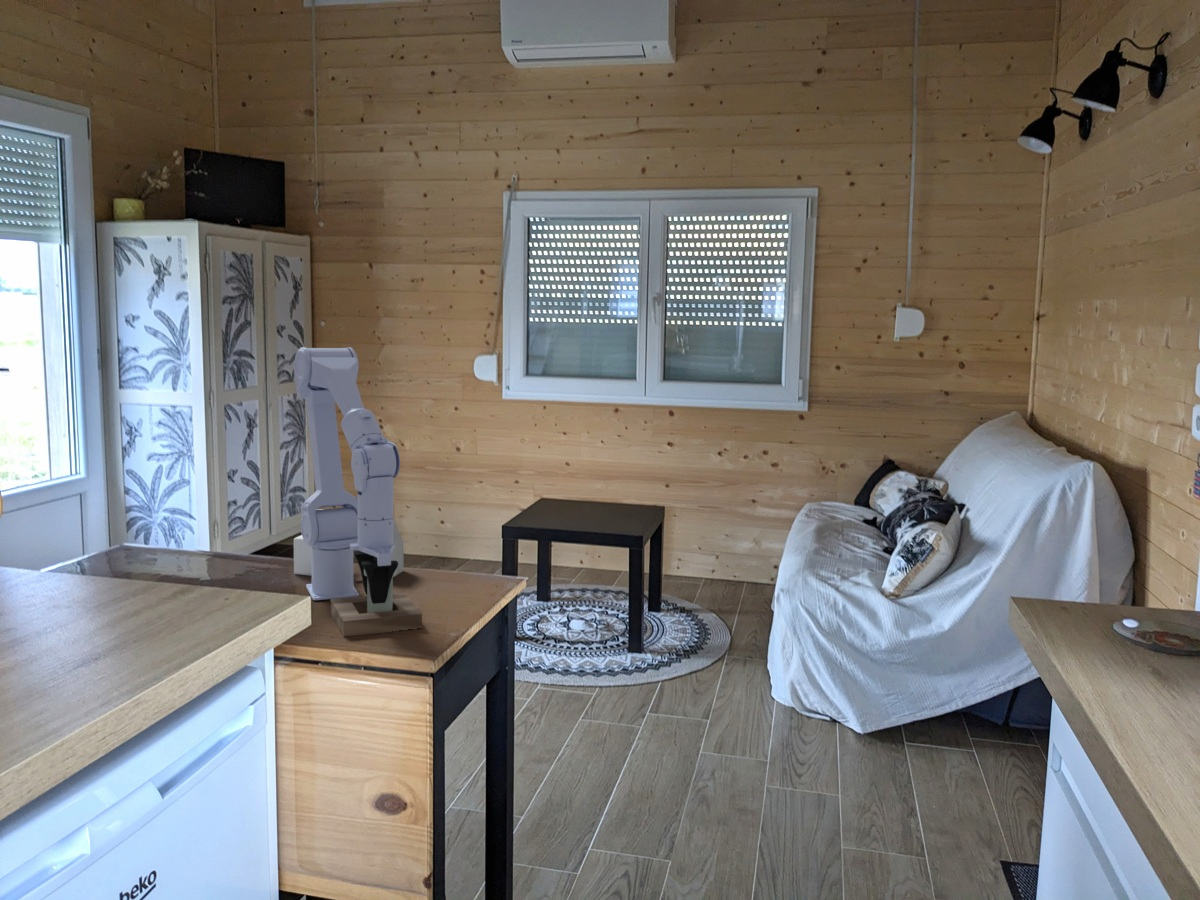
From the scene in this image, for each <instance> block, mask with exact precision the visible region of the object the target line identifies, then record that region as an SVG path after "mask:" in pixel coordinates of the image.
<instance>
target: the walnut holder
mask: <svg viewBox="0 0 1200 900" xmlns="http://www.w3.org/2000/svg"><path fill="white" fill-rule="evenodd" d="M330 615H331V617H332V619H333V621H334V622H335V624H336V626H337V627H338V629H339V631H340V633H341V635H342V637H351V636H352V637H354V636H361V635H363V636H364V635H372V634H382V633H392V631H393V632H400V631H399V630H403V631H409V630H408V629H413V630H418V629H417V628H422V629H423V612H421V611H420V609H419V608H418V607H417V606H416V605H415V603H414V602H413V601H412V600H411V599H410V598H409V596H408V595H407V594H406V593H405V592H400V593H399V592H397V593H393V611H385V612H374V613H367V595H365V596H358V597H348V598H337V599H330Z"/></svg>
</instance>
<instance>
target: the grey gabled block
mask: <svg viewBox="0 0 1200 900" xmlns="http://www.w3.org/2000/svg"><path fill="white" fill-rule="evenodd" d="M393 542H394V549H393V551H392V553H391V561H397V562H398V567H397V569H396V575H394V576H393V578H394V577H396V576H398V575H399V574H401V573H403V572H404V540H403V538H402V535H401V533H400V531H399V529H398V526H397V521H396V520H393ZM401 568H403V569H401Z"/></svg>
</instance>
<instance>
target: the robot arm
mask: <svg viewBox="0 0 1200 900" xmlns="http://www.w3.org/2000/svg"><path fill="white" fill-rule="evenodd" d="M359 367H360V366H359V359H358V355H357V352H356V351H355V350H354V348H353V347H350V346H348V347H344V348H343V347H340V348H339V347H337V348H336V347H316V348H315V347H310V348H309V347H306V346H302V347H300V348H298V350H297V352H296V353H295V356H294V362H293V374H294V375H293V376H294V383H295V390H296V394H297V396H299V397H300V398H301V399H304V400H305V405H306V411H307V419H308V428H309V439H310V449H311V459H312V466H313V467H312V469H313V478H314V487H315V491H314V492H313V494H312V495H310V496H309V497H308V498H307V499H306V500H305V501H304V502H303V503H302V505H301V508H300V509H301V520H300V532H301V535H302V537H303V539H304V541H305V542H306V543H307V544H308V545H309V546H311V547H312V554H311V571H312V576H311V583H306V584H305V587H306V590H307V591H308V593H309V595H310V598H311V599H312V600H313V601H322V600H323V601H324V600H331V599H339V598H350V597H360V593H359V592H358V590H357V589H356V587H355V585H354V557H355V560H356V562H357V564H358V567H359V570H360V573H361V574H360V576H361V579H362V583H363V589H364V592H365V596H367V578H368V583H369V590H370V596H371V600H372V603H373V604H377V603H385V602H386V599H387V595H388V590H389V586H390V582H391V579H392V576H393V574H394V572H395V570H396V569H397V567H398V562H397V561H391V553H392V551H393V549H394V542H393V521H394V479H395V478H396V477H398V476H399V472H400V469H401V457H400V452H399V449H398V446H397V445H396V444H395V443H394V442H392V441H391V440H390V439H389V438H385V436H384V434H383V431H382V430H381V427H380V425H379V422H378V420H377V418H376V417H375V416H376V415H375V414H374V412H373V411H372V410H370V409H367V408H365V406H364V403H363V401H362V397H361V394H360V391H359V387H358V385H357V378H358V373H359ZM336 404H337V405H336ZM336 406H337V407H338V409H339V410H340V413H341V414H342V416H343V418H342V419H341V422H340V428H341V430H342V432H343V435H344V436H345V439H346V441H347V444H348V446H349V449H350V451H351V453H352V454H351V460H350V466H351V471H352V476H353V485H354V490H356V491H357V497H356V496H354V495H353V494H352V493H350V492H348V491H347V490H346V489H345V486H344V478H343V469H342V468H343V467H342V458H341V450H340V449H341V447H340V439H339V431H338V419H337V413H336ZM330 507H331V508H330ZM332 507H337V508H332ZM320 508H325V509H324V510H317V509H320ZM364 570H365V572H366V575H367V576H365V575H364Z"/></svg>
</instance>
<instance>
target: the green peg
mask: <svg viewBox="0 0 1200 900" xmlns="http://www.w3.org/2000/svg"><path fill="white" fill-rule="evenodd" d="M364 575H365V576H367V575H366V572H365V570H364ZM394 575H396V570H395V572H394V574H393V576H394ZM393 576H392V579H391V582H390V586H389V590H388V595H387V599H386V602H385V603H377V604H373V603H372V600H371V596H370V590H369V583H368V578H367V595H366V596H367V613H374V612H385V611H393V594H394V593H393V590H394V589H393V588H394V585H393V584H394V583H393V582H394V581H393V580H394V579H393V578H394V577H395V576H394V577H393ZM396 576H397V575H396Z"/></svg>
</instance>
